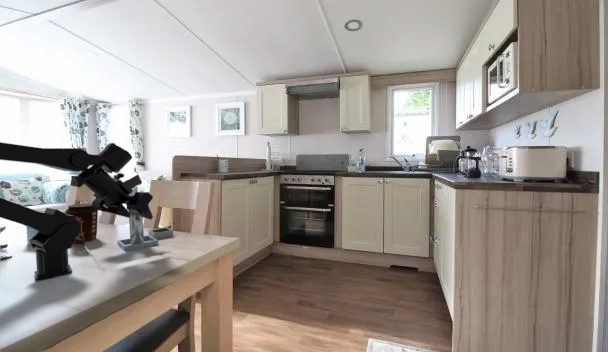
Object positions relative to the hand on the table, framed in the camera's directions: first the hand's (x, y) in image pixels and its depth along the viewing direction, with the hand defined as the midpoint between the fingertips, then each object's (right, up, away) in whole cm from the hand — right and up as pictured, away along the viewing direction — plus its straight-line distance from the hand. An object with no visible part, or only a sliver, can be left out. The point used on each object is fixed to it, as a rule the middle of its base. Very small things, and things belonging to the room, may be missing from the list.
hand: (140, 217), depth 88 cm
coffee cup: (-22, -10, +5) cm, 25 cm away
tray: (0, -10, -1) cm, 10 cm away
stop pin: (0, -9, -1) cm, 9 cm away
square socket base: (+2, -9, +10) cm, 14 cm away
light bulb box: (-35, -10, +7) cm, 37 cm away
